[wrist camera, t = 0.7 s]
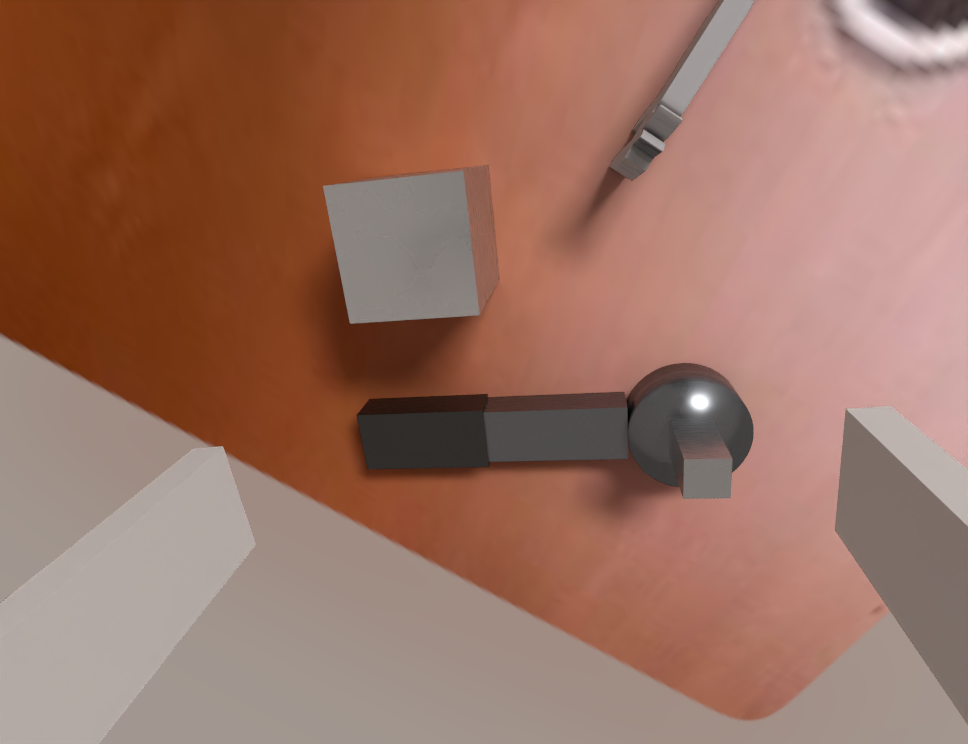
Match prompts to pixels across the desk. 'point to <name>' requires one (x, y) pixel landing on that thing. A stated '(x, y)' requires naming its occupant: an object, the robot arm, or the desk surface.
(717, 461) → the ratchet
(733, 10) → the caliper
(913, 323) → the desk surface
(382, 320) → the plain grey cube
